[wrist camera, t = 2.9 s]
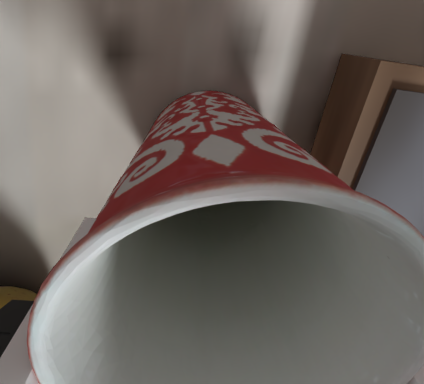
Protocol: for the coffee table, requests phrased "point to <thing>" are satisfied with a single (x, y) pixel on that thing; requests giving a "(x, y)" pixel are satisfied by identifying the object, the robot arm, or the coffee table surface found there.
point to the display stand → (377, 132)
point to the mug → (232, 268)
